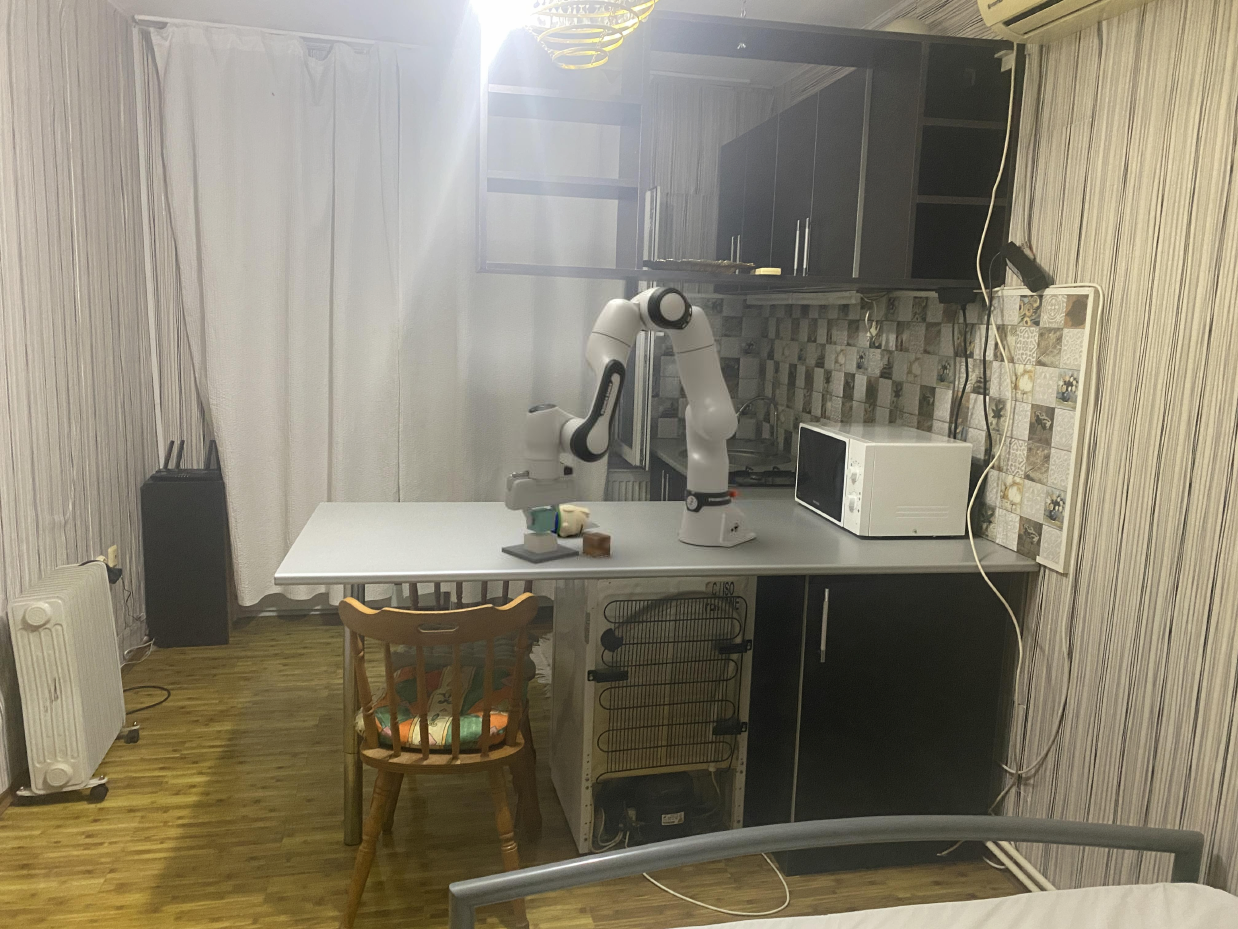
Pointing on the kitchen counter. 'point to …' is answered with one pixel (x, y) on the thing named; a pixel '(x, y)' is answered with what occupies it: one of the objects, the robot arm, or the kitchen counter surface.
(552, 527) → the teal block
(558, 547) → the build board
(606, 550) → the walnut block
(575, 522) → the cartoon head
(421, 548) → the kitchen counter surface
